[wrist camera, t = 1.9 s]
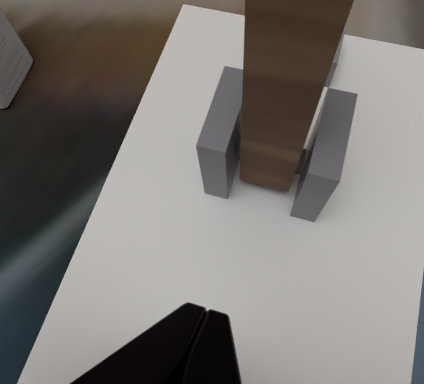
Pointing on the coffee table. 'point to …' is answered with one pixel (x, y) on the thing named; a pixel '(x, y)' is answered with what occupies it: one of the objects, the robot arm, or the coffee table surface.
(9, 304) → the coffee table surface
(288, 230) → the white square board
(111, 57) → the coffee table surface
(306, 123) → the lever
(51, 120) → the coffee table surface
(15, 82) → the skincare box
